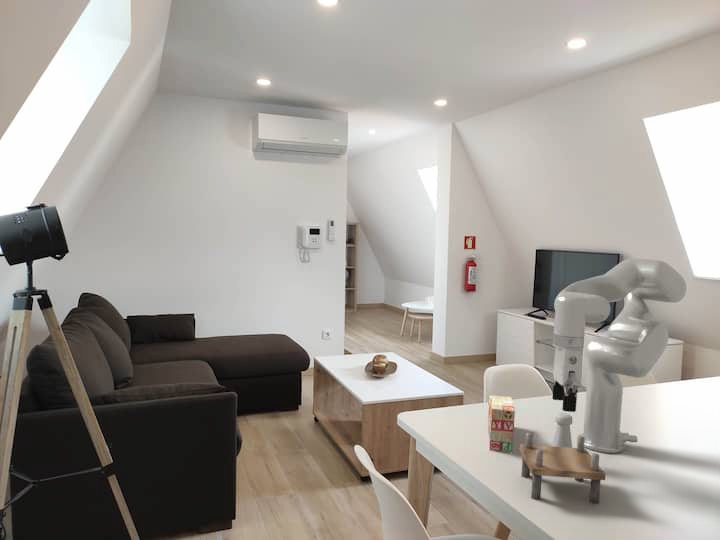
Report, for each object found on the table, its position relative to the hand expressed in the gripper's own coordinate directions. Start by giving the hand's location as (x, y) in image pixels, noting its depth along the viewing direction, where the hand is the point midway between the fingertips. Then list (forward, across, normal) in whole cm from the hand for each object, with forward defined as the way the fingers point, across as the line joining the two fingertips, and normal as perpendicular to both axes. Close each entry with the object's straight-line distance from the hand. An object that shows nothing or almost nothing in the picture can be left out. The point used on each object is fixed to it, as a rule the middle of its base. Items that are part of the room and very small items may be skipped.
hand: (563, 405), depth 142 cm
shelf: (+16, -15, +4) cm, 22 cm away
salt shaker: (+16, +1, -1) cm, 16 cm away
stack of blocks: (+16, +15, +13) cm, 26 cm away
